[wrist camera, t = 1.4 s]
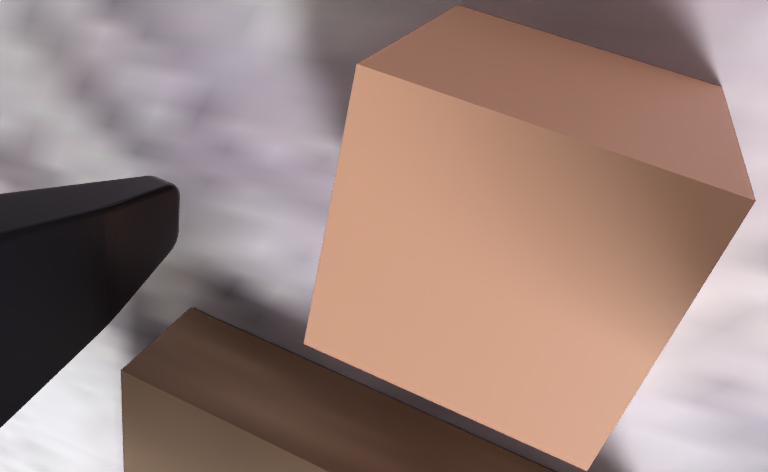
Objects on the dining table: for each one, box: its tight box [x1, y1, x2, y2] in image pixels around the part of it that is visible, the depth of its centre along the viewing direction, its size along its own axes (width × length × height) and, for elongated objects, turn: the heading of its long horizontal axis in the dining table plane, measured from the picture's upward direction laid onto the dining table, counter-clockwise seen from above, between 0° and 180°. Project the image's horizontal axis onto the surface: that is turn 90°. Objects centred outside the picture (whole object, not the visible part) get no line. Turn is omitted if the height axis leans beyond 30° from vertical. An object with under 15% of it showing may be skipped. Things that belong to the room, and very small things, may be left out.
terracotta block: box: [304, 5, 756, 471], centre depth 11 cm, size 5×5×5 cm
